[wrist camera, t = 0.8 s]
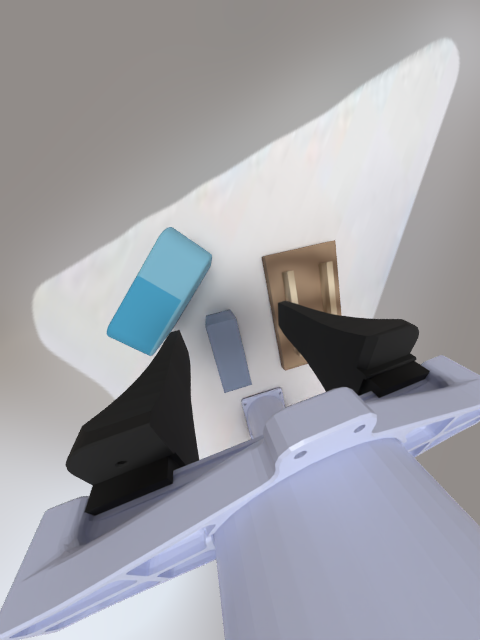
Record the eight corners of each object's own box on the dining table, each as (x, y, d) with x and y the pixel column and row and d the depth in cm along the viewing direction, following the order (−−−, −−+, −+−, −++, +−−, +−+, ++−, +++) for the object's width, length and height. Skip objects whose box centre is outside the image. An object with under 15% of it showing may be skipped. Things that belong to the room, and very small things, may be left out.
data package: (185, 247, 26) (166, 220, 15) (211, 264, 27) (213, 253, 16) (145, 315, 27) (99, 340, 16) (172, 329, 28) (148, 362, 17)
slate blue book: (242, 362, 32) (251, 384, 25) (221, 369, 32) (224, 392, 25) (229, 309, 30) (236, 318, 23) (206, 315, 29) (205, 326, 22)
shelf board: (338, 349, 35) (352, 356, 31) (281, 366, 33) (290, 376, 30) (329, 242, 30) (344, 237, 26) (261, 257, 28) (268, 254, 25)
